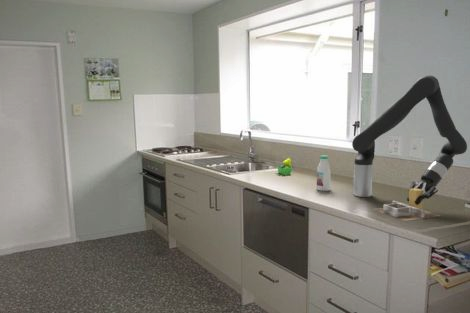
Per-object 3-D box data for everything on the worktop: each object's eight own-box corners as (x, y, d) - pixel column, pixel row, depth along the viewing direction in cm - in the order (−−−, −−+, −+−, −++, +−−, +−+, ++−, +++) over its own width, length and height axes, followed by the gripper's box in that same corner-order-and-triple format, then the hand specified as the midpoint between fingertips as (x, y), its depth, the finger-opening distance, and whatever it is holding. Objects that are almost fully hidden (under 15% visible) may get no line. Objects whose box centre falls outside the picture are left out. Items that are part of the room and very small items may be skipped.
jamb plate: (372, 211, 183) (372, 201, 182) (406, 206, 190) (407, 197, 189) (404, 223, 164) (404, 213, 164) (440, 217, 171) (441, 207, 170)
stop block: (408, 210, 180) (409, 189, 178) (415, 209, 181) (416, 188, 180) (415, 212, 176) (416, 190, 175) (422, 211, 178) (423, 190, 176)
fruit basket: (276, 173, 282) (276, 157, 281) (287, 172, 285) (287, 156, 283) (282, 175, 271) (282, 159, 270) (294, 174, 274) (294, 158, 272)
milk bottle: (328, 188, 232) (328, 154, 229) (331, 191, 224) (332, 156, 221) (315, 188, 232) (315, 154, 229) (318, 191, 224) (318, 156, 221)
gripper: (418, 166, 185) (396, 193, 183) (443, 171, 172) (419, 201, 170) (426, 176, 188) (404, 203, 185) (451, 182, 174) (428, 211, 172)
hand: (412, 202), depth 177 cm, fingers closed on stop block, 4 cm apart
